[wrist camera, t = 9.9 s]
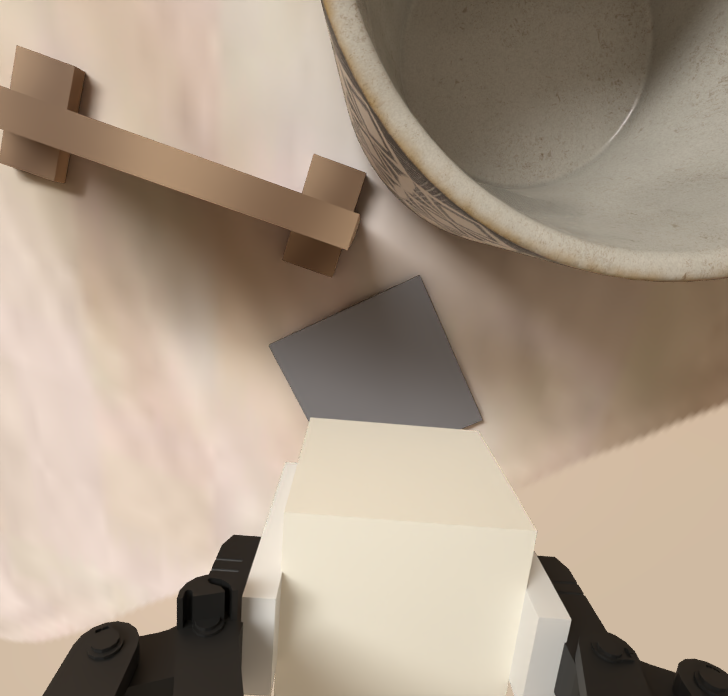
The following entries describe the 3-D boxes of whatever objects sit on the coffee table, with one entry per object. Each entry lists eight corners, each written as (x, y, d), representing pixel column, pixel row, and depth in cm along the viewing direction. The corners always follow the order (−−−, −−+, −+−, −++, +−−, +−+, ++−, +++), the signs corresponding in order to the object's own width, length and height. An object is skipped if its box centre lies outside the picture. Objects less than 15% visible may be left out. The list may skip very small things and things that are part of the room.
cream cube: (310, 417, 17) (284, 511, 11) (478, 430, 17) (537, 531, 12) (300, 570, 19) (272, 723, 13) (455, 581, 19) (498, 738, 13)
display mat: (269, 344, 30) (268, 345, 30) (418, 275, 29) (419, 275, 29) (340, 477, 32) (339, 480, 32) (480, 417, 31) (482, 419, 31)
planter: (446, 311, 30) (547, 413, 14) (264, 4, 26) (102, -364, 10) (746, 129, 27) (1298, -7, 11) (598, -242, 23) (1126, -1284, 7)
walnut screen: (2, 161, 27) (-305, 106, 15) (20, 48, 26) (-303, -119, 13) (340, 278, 29) (324, 318, 16) (374, 177, 28) (384, 137, 15)
